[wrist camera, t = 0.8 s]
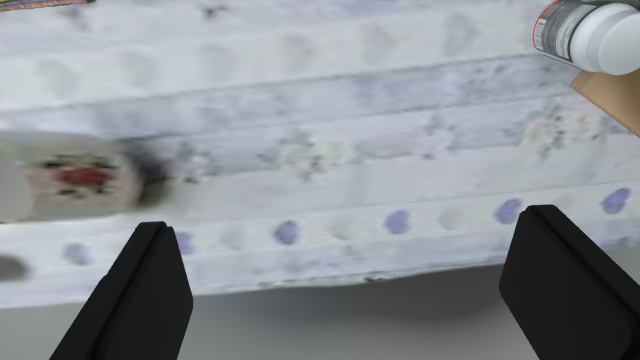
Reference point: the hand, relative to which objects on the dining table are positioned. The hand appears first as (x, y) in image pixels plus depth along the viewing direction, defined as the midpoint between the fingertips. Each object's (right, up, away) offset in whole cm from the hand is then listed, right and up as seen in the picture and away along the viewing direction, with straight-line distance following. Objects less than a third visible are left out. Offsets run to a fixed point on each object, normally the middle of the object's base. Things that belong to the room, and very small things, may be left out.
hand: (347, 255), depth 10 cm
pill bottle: (+20, +15, +22) cm, 33 cm away
